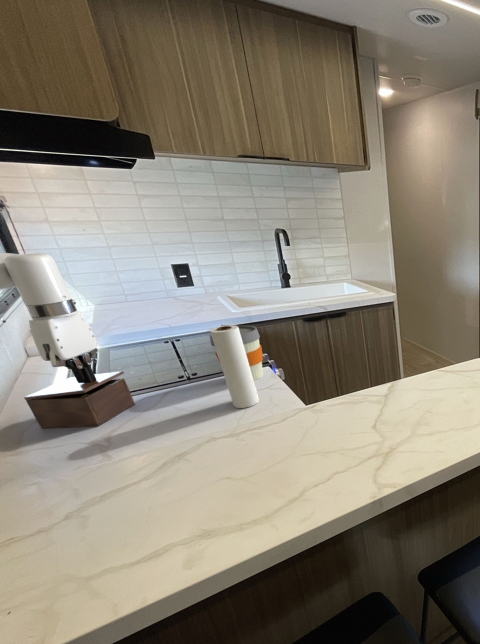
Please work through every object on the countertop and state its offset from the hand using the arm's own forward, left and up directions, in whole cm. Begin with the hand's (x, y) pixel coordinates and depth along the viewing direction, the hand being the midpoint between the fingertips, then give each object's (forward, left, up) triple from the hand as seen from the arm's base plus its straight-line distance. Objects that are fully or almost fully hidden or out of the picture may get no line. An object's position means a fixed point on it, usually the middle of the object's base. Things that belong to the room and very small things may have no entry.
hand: (87, 381), depth 100 cm
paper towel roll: (+19, -29, -10) cm, 36 cm away
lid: (-1, +3, -1) cm, 3 cm away
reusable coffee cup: (+31, -13, -10) cm, 35 cm away
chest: (-1, +3, -10) cm, 10 cm away
